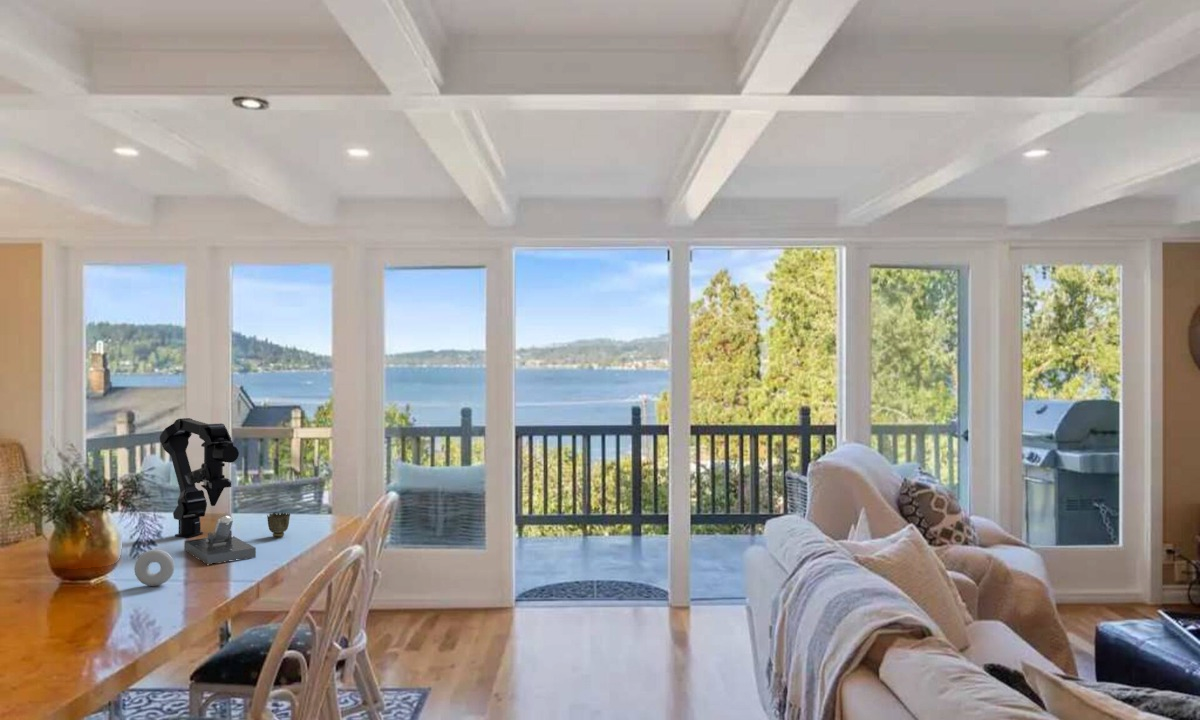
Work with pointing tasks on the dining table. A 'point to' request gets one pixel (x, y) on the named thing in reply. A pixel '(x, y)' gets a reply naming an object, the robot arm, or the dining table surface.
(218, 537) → the lever
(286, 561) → the dining table surface
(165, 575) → the donut
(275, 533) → the cup
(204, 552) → the lever base
